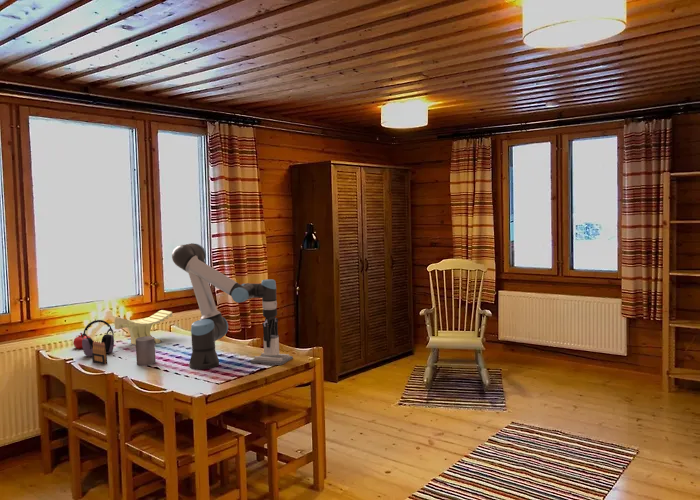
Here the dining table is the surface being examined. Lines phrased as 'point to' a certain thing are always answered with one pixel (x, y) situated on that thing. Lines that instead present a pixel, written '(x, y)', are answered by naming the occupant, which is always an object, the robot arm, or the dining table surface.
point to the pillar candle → (145, 350)
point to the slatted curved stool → (142, 325)
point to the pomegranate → (79, 341)
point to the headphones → (107, 340)
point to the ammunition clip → (99, 353)
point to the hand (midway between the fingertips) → (271, 351)
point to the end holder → (272, 359)
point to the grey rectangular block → (274, 345)
